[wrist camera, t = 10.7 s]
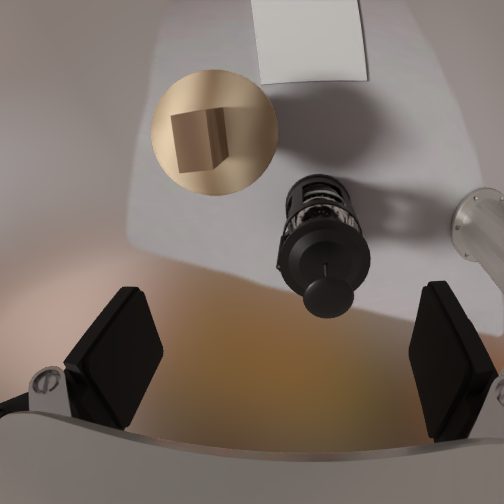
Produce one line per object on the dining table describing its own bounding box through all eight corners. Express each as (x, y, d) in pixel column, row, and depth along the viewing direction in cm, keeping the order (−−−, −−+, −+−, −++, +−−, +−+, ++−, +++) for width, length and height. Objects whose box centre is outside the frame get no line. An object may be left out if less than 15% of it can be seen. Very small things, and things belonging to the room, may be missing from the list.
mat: (354, -12, 30) (354, -13, 30) (366, 80, 36) (366, 80, 36) (250, -8, 33) (249, -8, 32) (261, 84, 39) (261, 84, 38)
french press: (324, 157, 42) (346, 217, 22) (366, 206, 44) (412, 299, 24) (263, 210, 47) (232, 306, 27) (306, 254, 49) (305, 366, 29)
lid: (272, 63, 27) (263, 53, 21) (283, 188, 33) (278, 212, 27) (148, 83, 29) (113, 83, 23) (166, 196, 35) (137, 220, 29)
